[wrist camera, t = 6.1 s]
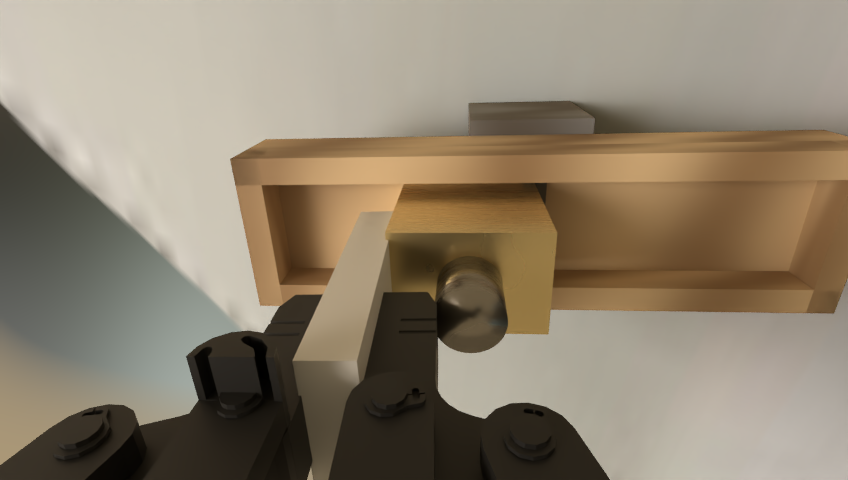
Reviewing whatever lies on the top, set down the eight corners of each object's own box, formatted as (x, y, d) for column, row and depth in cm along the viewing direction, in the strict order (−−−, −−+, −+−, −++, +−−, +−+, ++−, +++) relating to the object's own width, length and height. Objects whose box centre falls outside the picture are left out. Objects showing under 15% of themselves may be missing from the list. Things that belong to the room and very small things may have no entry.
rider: (533, 181, 14) (572, 264, 9) (528, 262, 15) (559, 377, 10) (404, 182, 15) (372, 263, 10) (408, 262, 16) (382, 372, 11)
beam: (754, 96, 18) (903, 130, 12) (719, 238, 20) (828, 327, 14) (300, 107, 20) (226, 142, 13) (318, 238, 22) (262, 318, 16)
